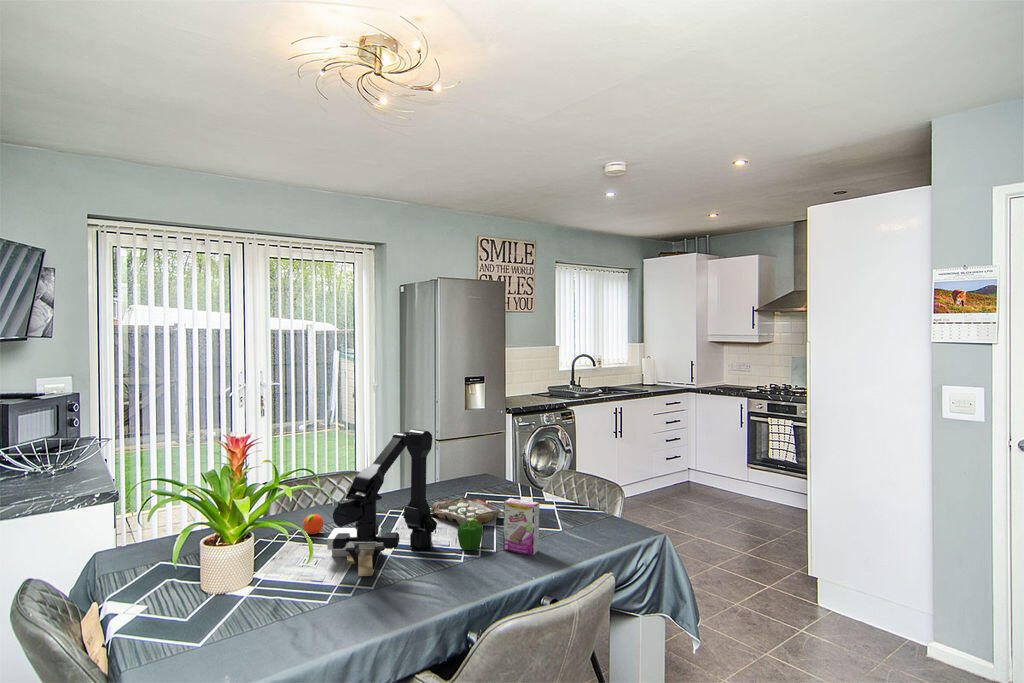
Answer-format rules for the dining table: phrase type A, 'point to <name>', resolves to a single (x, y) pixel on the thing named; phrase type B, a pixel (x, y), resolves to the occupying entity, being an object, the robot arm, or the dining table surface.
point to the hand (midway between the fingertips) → (366, 568)
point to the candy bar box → (521, 526)
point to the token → (350, 559)
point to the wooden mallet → (365, 563)
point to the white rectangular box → (343, 551)
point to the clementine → (313, 523)
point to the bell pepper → (470, 535)
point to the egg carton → (465, 510)
